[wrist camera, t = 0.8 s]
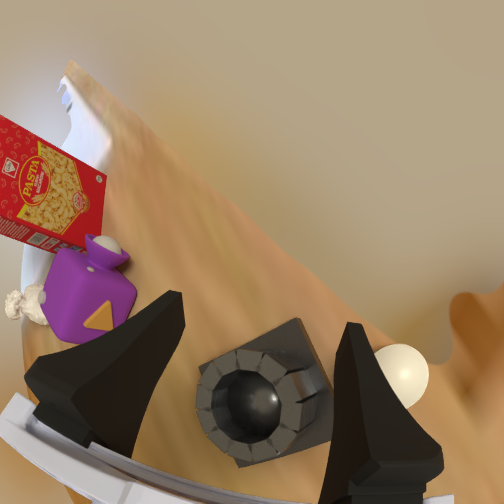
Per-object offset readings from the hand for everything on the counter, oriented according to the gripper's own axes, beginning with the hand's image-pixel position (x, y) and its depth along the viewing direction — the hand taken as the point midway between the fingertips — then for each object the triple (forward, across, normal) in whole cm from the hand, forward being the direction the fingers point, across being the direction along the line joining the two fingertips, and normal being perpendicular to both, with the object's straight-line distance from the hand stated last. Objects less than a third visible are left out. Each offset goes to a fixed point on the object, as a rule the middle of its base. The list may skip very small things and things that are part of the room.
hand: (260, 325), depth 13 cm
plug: (+6, -11, +9) cm, 16 cm away
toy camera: (+17, +22, +17) cm, 32 cm away
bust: (+17, +39, +26) cm, 49 cm away
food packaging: (+28, +33, +12) cm, 45 cm away
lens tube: (+6, -1, +15) cm, 16 cm away
